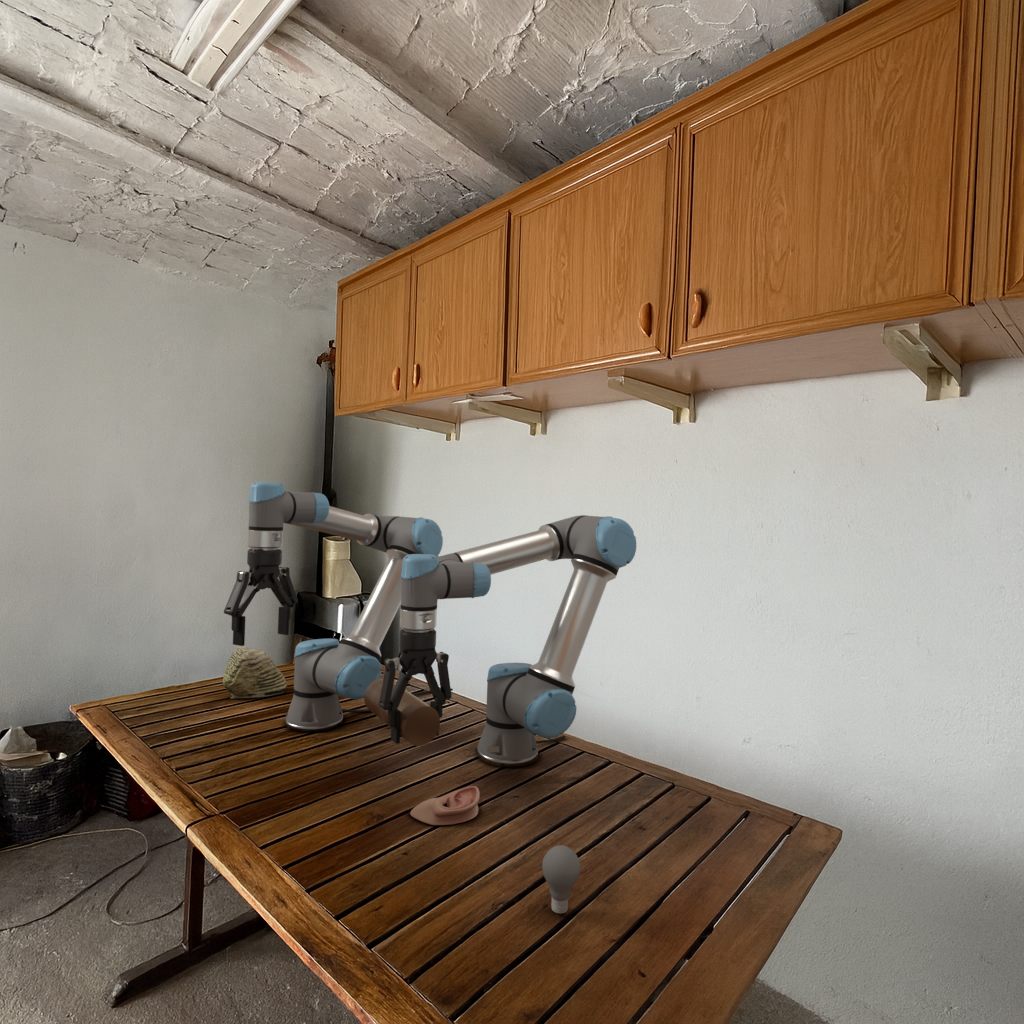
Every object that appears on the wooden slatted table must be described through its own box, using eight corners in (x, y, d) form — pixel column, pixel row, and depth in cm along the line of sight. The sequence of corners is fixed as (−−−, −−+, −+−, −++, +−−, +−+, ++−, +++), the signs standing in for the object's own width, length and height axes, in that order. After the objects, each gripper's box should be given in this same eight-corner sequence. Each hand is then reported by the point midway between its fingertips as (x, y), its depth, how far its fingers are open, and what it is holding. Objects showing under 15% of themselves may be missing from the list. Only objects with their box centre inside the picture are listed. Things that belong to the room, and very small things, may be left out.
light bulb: (538, 899, 102) (540, 837, 102) (574, 898, 103) (577, 837, 103) (542, 923, 96) (545, 859, 96) (581, 923, 97) (584, 858, 97)
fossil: (218, 695, 195) (220, 647, 195) (278, 685, 208) (279, 640, 207) (228, 703, 189) (230, 653, 188) (289, 692, 201) (290, 645, 201)
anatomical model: (405, 801, 125) (424, 776, 136) (404, 821, 125) (423, 795, 136) (470, 810, 122) (484, 785, 133) (469, 831, 122) (483, 803, 133)
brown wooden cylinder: (363, 715, 145) (364, 680, 145) (396, 709, 150) (397, 675, 150) (403, 749, 127) (404, 709, 127) (439, 741, 131) (440, 703, 131)
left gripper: (233, 552, 134) (230, 652, 135) (314, 546, 157) (311, 632, 157) (208, 550, 137) (204, 647, 138) (291, 544, 160) (288, 628, 160)
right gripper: (377, 637, 123) (374, 753, 123) (470, 627, 134) (467, 734, 135) (363, 629, 129) (360, 740, 129) (453, 621, 140) (450, 722, 141)
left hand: (261, 639), depth 148 cm, fingers open, 13 cm apart
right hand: (414, 737), depth 132 cm, fingers closed on brown wooden cylinder, 8 cm apart
